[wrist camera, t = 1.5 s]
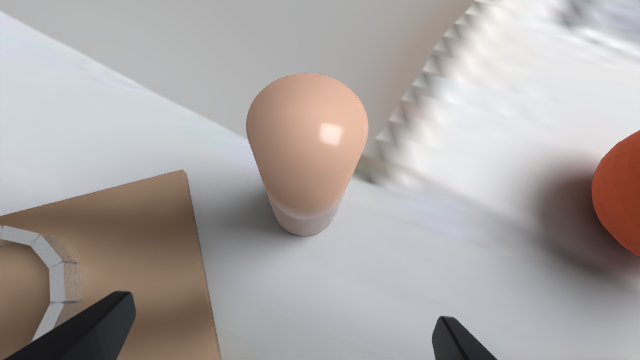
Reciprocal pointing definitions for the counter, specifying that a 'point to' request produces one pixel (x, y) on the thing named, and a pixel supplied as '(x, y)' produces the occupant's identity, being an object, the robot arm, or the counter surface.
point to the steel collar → (51, 275)
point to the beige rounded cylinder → (306, 147)
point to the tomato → (620, 192)
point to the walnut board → (118, 267)
